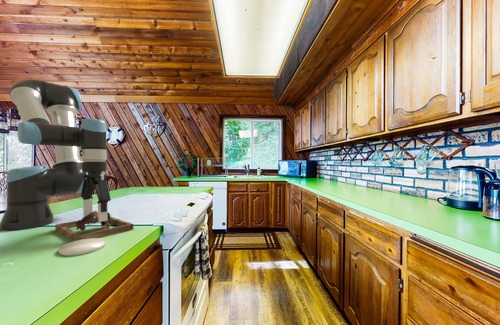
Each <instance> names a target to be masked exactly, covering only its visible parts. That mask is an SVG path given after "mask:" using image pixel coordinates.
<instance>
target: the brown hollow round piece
mask: <svg viewBox="0 0 500 325" xmlns="http://www.w3.org/2000/svg"><path fill="white" fill-rule="evenodd" d="M107 215H108V220H107V221H102V222H99V224H100V225H101V227H100V229H101V230H105V229H109V228H111V227H110V225H109V224H110V223H109V222H108V221H109V220H110V217H111V214H110V212H109V211H107ZM95 217H96V218H97V219H98V210H93V211H92V213H90V214H88V215H87V216H85V217H84V216H83V217H82V218H81V219H78V220H76V221H77V222H76V223H75V224H76V225H77V227H75V228H76V230H80V231H82V232H83V230H84V231H85V230H86V228H87V226H86V225H85V222H87V223H93V224H95V223H94V218H95Z"/></svg>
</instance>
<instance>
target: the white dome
mask: <svg viewBox="0 0 500 325" xmlns="http://www.w3.org/2000/svg"><path fill="white" fill-rule="evenodd" d="M106 245H107V243H106V239H105V238H102V237H100V238H90V239H82V240H78V241H73V240H72V241H71V242H68V243H65V244H62V245H61V246H59V248H58V255H61V256H63V257H65V256H66V257H75V256H81V255H86V254H91V253H94V252H96V251H99V250H102V249H103V248H104V247H106Z"/></svg>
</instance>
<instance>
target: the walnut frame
mask: <svg viewBox="0 0 500 325" xmlns="http://www.w3.org/2000/svg"><path fill="white" fill-rule="evenodd" d="M77 221H78V220H75V221H73V220H72V221H68V222H62V223H58V224H57V223H56V224H55V227H54V228H55V231H57V232H58V233H60V234H61V235H63V236H64V237H66V238H68V239H70V240H71V241H72V242H73V241H78V240H82V239H90V238H102V237H108V236H111V235H117V234H120V233H125V232H129V231H133V230H134V223H132V222H129V221H125V220H122V219H119V218H116V217H113V216H110V220H109V221H108V223H109V222H110V223H109V224H112V223H113V225H115V227H110V228H109V229H105V230H102V229H101V230H96V231H91V232H87V233H83V234H79V233H78V232H75V231H74V230H72V229H71V228H76V227H77V225H76V224H75V223H76V222H77ZM96 222H98V219H97V218H96V217H94V223H93V224H97V223H96ZM98 223H99V222H98ZM85 224H88V225H90V224H89V223H87V222H85Z"/></svg>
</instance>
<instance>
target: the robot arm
mask: <svg viewBox="0 0 500 325" xmlns="http://www.w3.org/2000/svg"><path fill="white" fill-rule="evenodd" d="M80 93H81V92H79V90H78V89H76V88H74V87H70V86H68V85H62V84H61V85H60V84H57V83H54V82H53V83H52V82H49V81H43V80H41V79H32V78H31V79H24V80H23V79H22V80H20V81H18V82H15V83H14V84H13V85H11V87H10V88H9V91H8V95H9V96H8V97H9V100H11V103H13V104H14V105H15V106H16V108H17V112H18V114H19V117H20V118H21V122H18V125H17V139H18V142H19V143H21V144H23V145H31V146H54V153H55V161H56V162H55V163H54V164H52V168H49V166H48V165H34V166H26V167H25V166H24V167H17V168H11V169H10V170H8V172H7V175H6V181H5V183H6V208H5V211H4V213H3V216H2V218H1V220H0V230H3V231H16V230H18V231H19V230H26V229H27V230H28V229H32V228H33V229H34V228H37V227H42V226H46V225H49V224H52V223H53V222H55V221H54V219H55V218H54V217H55V216H54V214H53V212H52V210H51V208H50V205H49V197H57V196H65V195H66V196H67V195H78V194H80V198H82V200H83V210H82V212H83V214H82V215H83V217H85V216H87V215H88V214H90V213H92V212H93V200H94V196H93V193H94V191H95V193H96V197H97V199H98V200H97V201H96V202H97V213H98V223H100V222H102V221H107V220H108V215H107V212H108V202H110V201H111V200H112V199H111V195H110V190H109V186H108V185H109V184H108V180H107V174H105V173H106V172H107V169H108V168H107V162H106V161H107V160H108V159H107V158H108V154H107V152H108V151H107V150H108V149H107V123H106V121H105V120H103V119H99V118H98V119H97V118H84V119H82V120H81V125H80V127H79V126H77V124H76V116H77V115H78V114H79V112H80V111H81V109H82V102H83V100H82V97H81V94H80ZM45 108H46V109H45ZM45 110H46V111H45ZM46 112H47V113H46ZM48 115H50V116H51V120H50V118H49V116H48ZM51 122H52V123H51ZM80 148H81V152H80ZM81 159H82V160H81ZM103 172H105V173H104V174H103Z"/></svg>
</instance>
